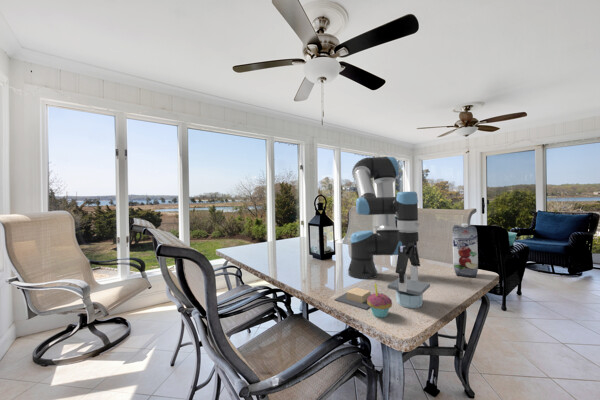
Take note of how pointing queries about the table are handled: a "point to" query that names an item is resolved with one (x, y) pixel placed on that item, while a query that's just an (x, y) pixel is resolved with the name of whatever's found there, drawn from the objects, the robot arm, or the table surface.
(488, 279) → the table surface
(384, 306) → the cupcake
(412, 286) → the sheet
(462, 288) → the table surface
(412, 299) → the bowl
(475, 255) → the juice carton
